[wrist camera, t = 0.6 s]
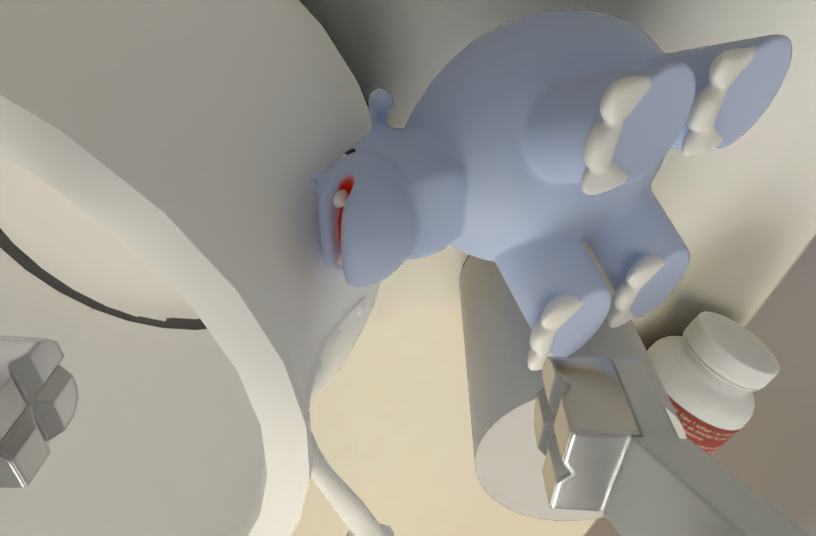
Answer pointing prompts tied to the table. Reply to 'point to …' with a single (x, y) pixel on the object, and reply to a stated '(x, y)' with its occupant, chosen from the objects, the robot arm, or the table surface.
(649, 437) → the robot arm
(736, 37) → the table surface
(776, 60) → the hippopotamus toy
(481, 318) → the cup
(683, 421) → the pill bottle
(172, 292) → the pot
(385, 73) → the table surface
